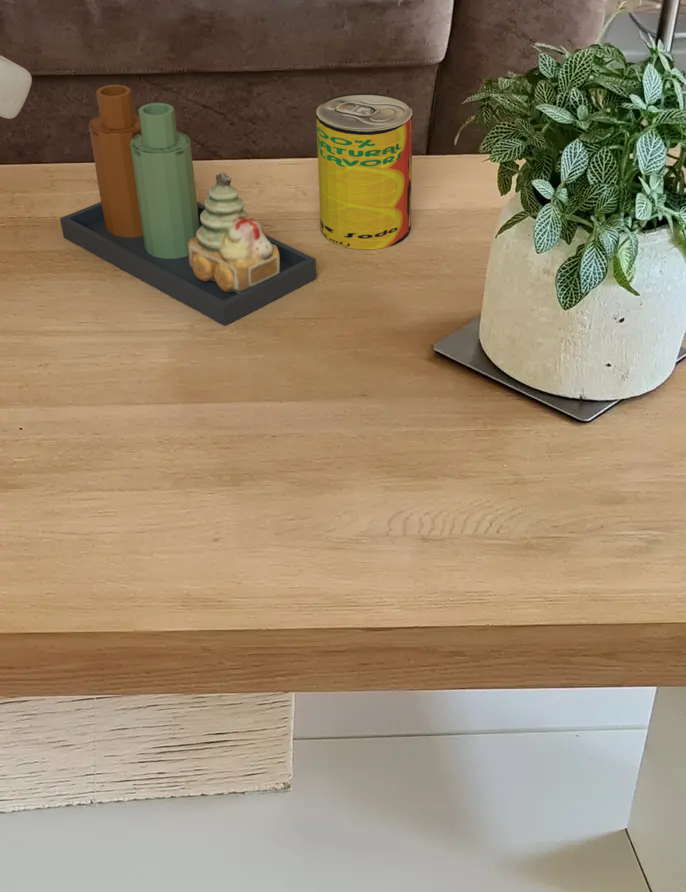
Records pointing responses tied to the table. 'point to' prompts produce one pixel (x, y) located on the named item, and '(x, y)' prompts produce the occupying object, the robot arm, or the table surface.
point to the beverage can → (364, 170)
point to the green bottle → (164, 183)
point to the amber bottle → (116, 159)
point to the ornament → (231, 243)
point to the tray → (186, 268)
